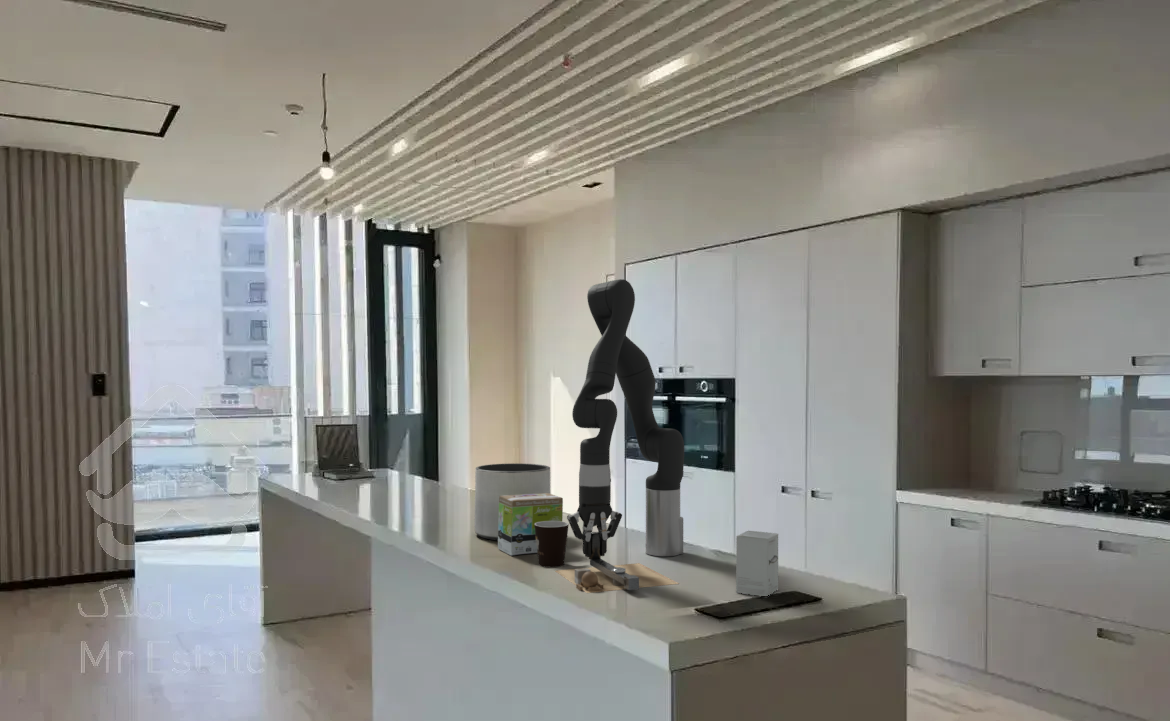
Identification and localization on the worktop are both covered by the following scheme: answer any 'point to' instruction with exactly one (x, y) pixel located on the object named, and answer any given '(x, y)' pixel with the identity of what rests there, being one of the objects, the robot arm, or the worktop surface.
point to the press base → (609, 584)
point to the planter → (504, 490)
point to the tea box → (525, 520)
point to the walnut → (589, 579)
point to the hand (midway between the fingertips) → (594, 555)
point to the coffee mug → (551, 542)
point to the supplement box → (757, 563)
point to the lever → (614, 572)
